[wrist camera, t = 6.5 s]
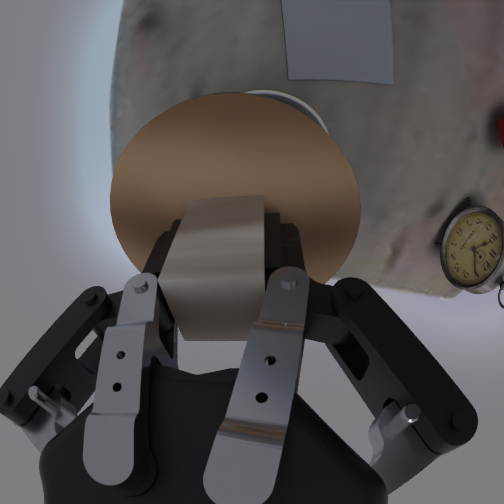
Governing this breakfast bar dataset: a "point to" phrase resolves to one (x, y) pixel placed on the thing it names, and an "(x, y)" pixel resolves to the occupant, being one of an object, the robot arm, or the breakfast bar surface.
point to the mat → (339, 40)
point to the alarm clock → (474, 250)
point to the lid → (231, 204)
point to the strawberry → (501, 130)
